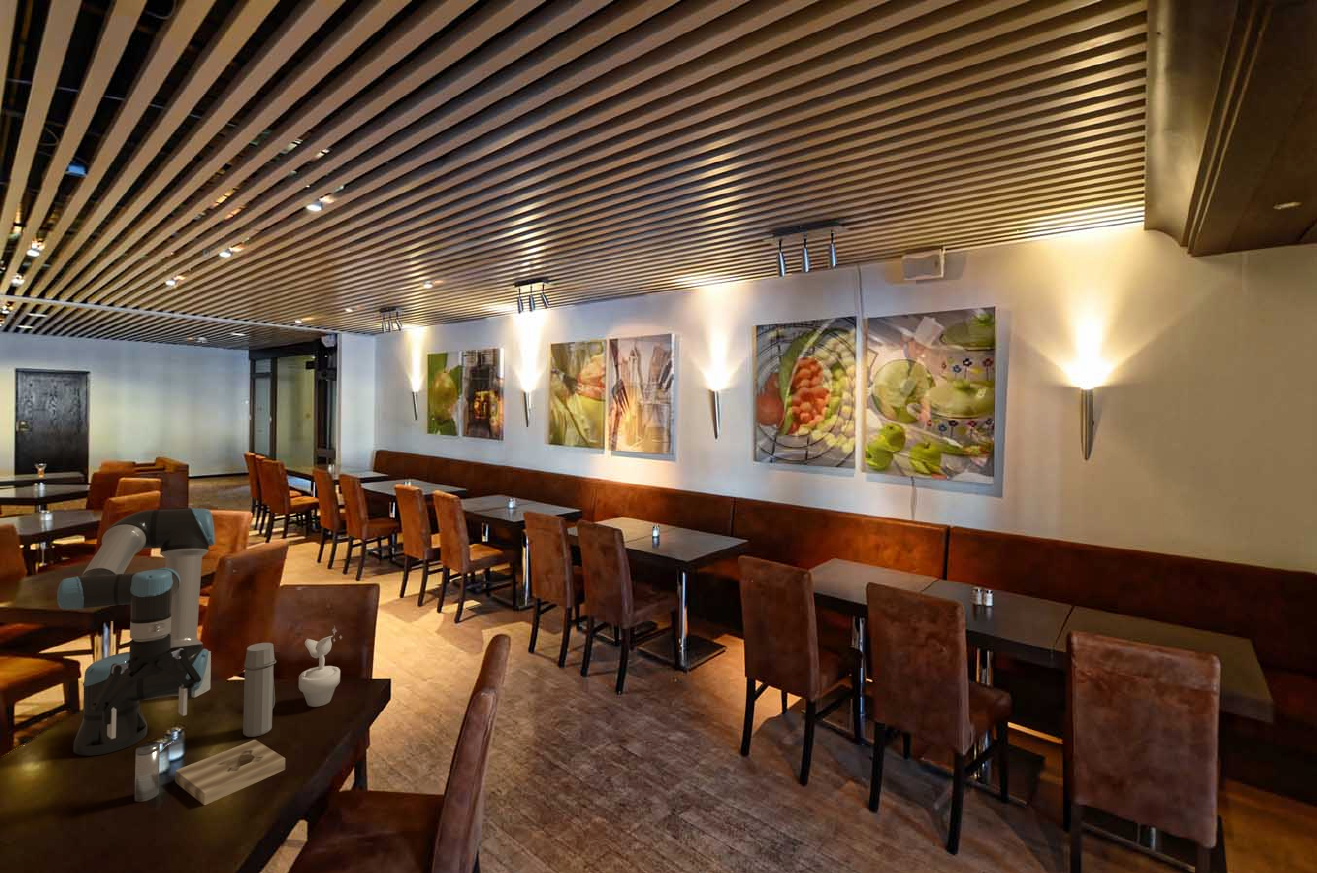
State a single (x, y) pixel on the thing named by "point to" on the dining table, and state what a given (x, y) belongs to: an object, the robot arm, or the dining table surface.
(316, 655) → the potted plant
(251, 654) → the water bottle
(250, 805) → the dining table surface
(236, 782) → the jig
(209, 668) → the small box
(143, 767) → the grey metallic cylinder
